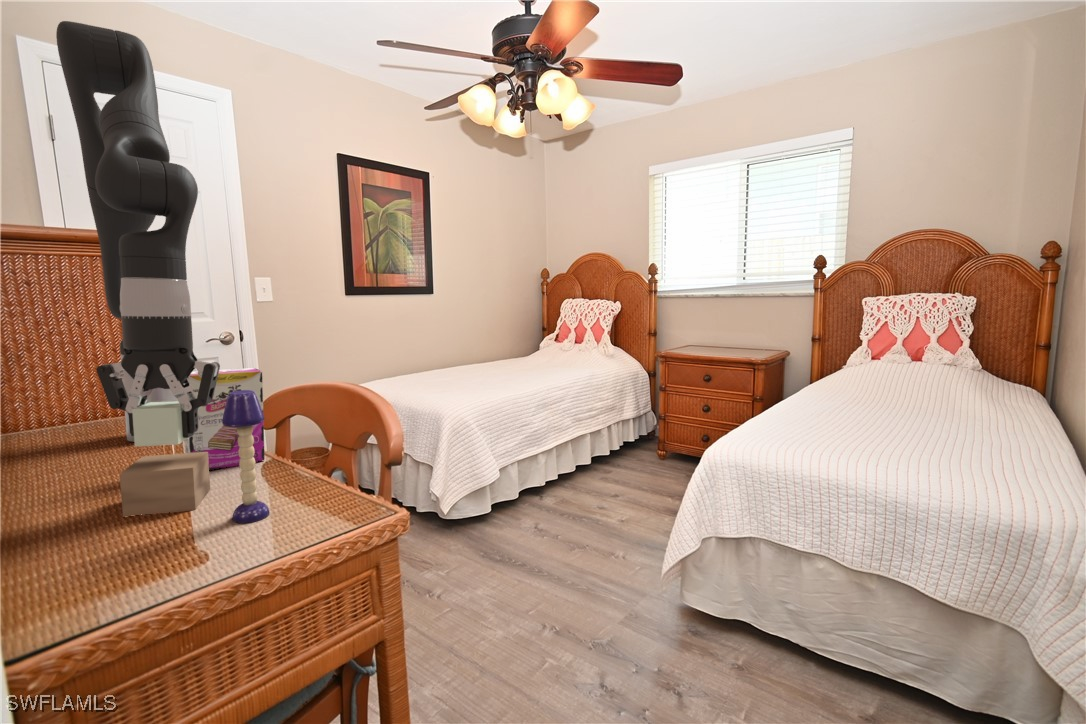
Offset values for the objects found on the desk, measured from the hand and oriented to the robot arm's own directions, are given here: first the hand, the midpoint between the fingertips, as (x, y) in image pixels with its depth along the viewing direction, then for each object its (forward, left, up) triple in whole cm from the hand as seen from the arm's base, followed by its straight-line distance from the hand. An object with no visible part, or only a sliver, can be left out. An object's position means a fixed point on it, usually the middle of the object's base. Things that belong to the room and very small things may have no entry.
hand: (165, 437), depth 70 cm
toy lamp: (+8, +12, -9) cm, 17 cm away
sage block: (0, 0, 0) cm, 0 cm away
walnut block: (0, 0, -9) cm, 9 cm away
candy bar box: (-17, +2, -10) cm, 20 cm away
